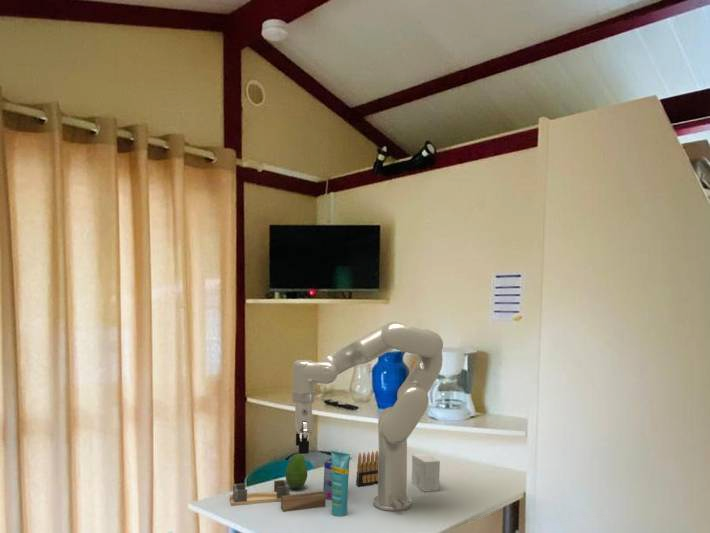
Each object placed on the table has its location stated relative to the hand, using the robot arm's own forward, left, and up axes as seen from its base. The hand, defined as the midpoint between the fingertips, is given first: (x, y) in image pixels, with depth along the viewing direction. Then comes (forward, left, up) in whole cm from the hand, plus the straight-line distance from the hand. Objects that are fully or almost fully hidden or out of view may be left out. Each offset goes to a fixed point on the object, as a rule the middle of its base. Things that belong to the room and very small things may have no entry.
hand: (302, 449), depth 181 cm
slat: (-3, 0, -18) cm, 18 cm away
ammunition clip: (+12, -28, -18) cm, 35 cm away
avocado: (+15, -1, -18) cm, 23 cm away
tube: (-11, -10, -18) cm, 23 cm away
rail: (+7, +12, -18) cm, 23 cm away
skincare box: (+5, -47, -18) cm, 51 cm away
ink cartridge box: (+5, -13, -18) cm, 23 cm away
